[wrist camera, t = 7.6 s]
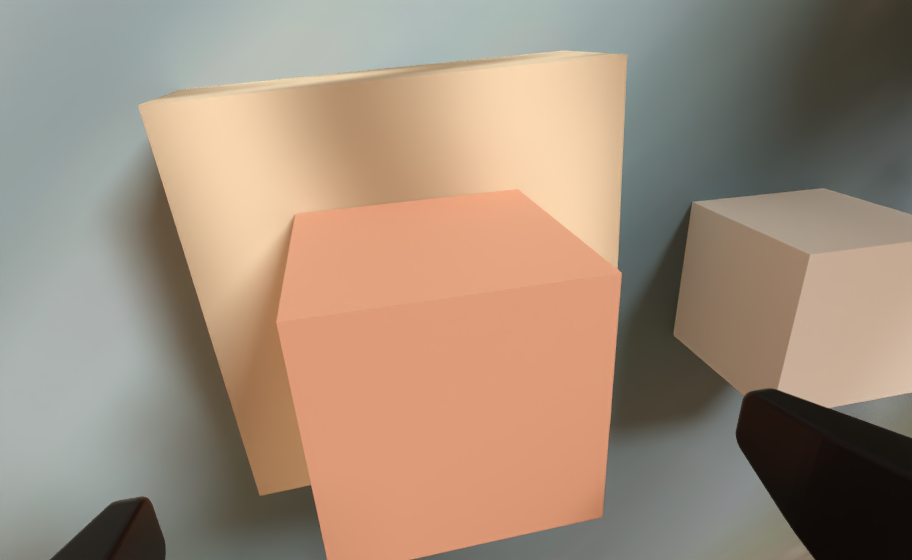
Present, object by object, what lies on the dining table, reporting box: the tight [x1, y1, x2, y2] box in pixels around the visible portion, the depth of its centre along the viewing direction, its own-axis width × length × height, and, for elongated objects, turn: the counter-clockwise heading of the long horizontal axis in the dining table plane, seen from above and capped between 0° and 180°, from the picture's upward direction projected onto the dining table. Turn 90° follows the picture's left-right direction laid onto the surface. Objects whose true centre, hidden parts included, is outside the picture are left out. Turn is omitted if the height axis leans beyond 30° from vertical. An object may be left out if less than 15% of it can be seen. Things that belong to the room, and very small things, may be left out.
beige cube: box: [673, 188, 912, 408], centre depth 17 cm, size 5×5×5 cm
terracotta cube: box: [276, 189, 622, 560], centre depth 11 cm, size 5×5×5 cm
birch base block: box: [138, 51, 627, 496], centre depth 15 cm, size 10×10×4 cm
